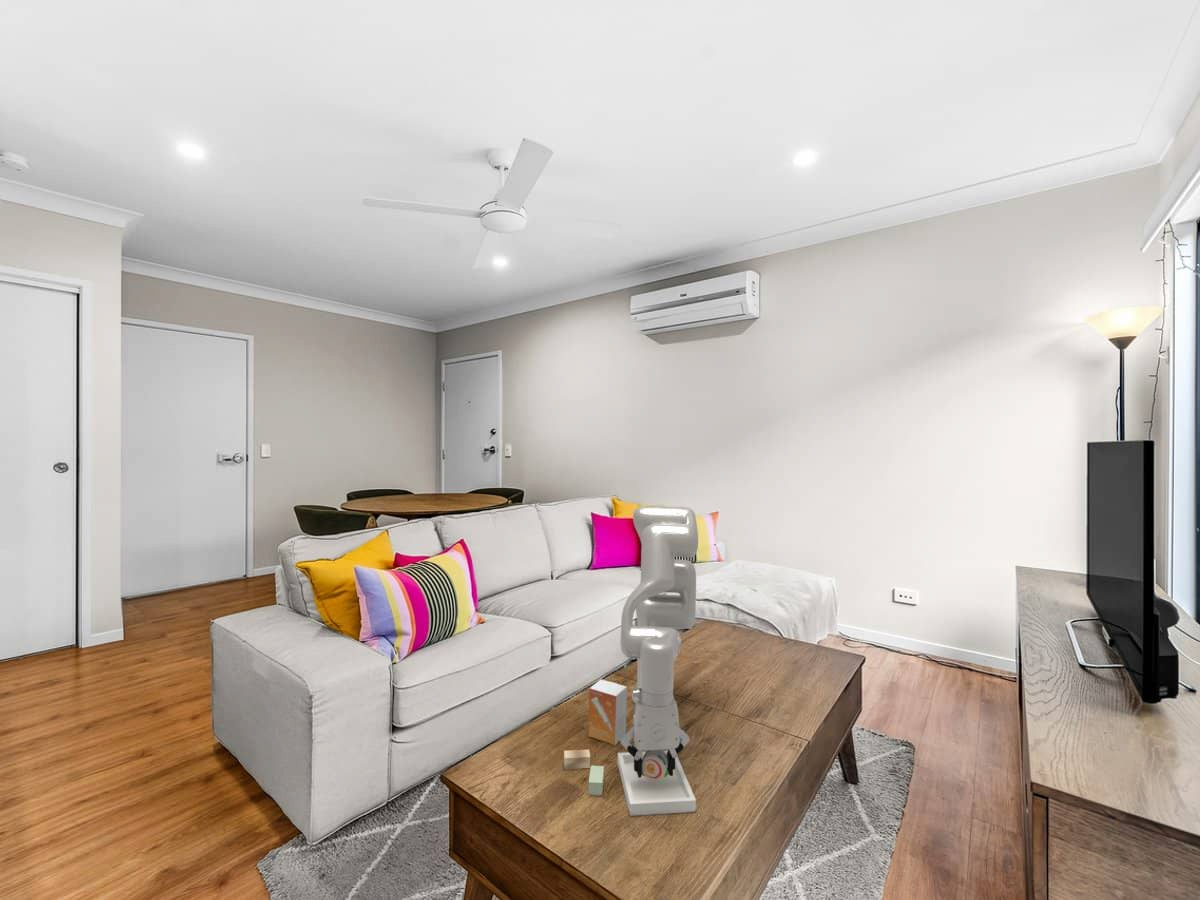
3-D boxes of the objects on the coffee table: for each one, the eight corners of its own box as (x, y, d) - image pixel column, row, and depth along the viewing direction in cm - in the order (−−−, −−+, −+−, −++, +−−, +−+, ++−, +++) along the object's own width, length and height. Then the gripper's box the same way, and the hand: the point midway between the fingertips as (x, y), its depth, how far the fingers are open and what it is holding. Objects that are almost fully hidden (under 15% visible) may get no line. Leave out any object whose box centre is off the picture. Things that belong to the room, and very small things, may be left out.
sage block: (590, 778, 125) (590, 765, 125) (603, 779, 125) (603, 766, 124) (588, 795, 119) (588, 782, 119) (602, 796, 119) (602, 783, 118)
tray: (617, 763, 130) (617, 752, 130) (674, 760, 132) (674, 750, 132) (630, 815, 112) (630, 804, 112) (695, 811, 114) (696, 800, 114)
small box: (587, 737, 141) (588, 687, 141) (599, 725, 147) (600, 678, 146) (615, 746, 137) (616, 695, 137) (626, 734, 143) (627, 685, 142)
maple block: (564, 770, 127) (564, 758, 127) (563, 762, 130) (564, 750, 130) (589, 769, 128) (590, 757, 128) (588, 761, 131) (589, 749, 131)
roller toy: (665, 786, 119) (665, 760, 119) (637, 779, 121) (637, 753, 121) (669, 774, 123) (670, 749, 123) (643, 767, 125) (643, 743, 125)
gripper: (620, 704, 117) (618, 785, 118) (698, 701, 119) (696, 781, 119) (615, 688, 124) (614, 764, 125) (689, 685, 126) (687, 761, 127)
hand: (654, 772), depth 122 cm, fingers closed on roller toy, 6 cm apart
